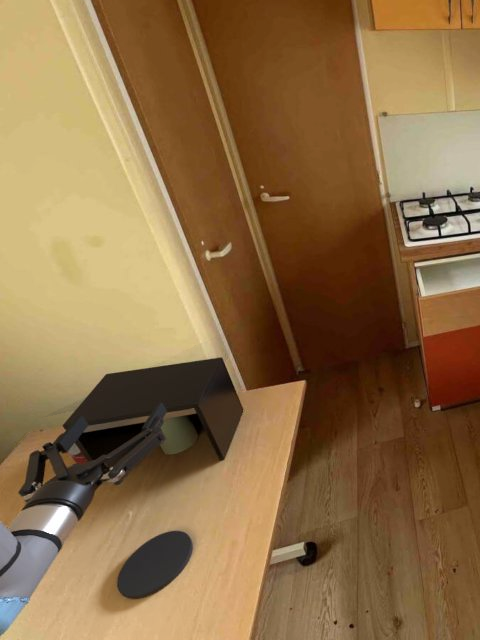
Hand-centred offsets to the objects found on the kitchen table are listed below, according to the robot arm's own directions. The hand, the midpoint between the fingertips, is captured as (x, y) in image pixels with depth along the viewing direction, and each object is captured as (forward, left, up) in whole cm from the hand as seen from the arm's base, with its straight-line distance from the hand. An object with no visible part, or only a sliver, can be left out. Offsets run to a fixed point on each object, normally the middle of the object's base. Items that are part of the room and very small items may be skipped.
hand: (123, 413), depth 85 cm
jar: (-7, +6, -20) cm, 22 cm away
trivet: (+20, -7, -20) cm, 29 cm away
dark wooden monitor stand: (-7, +6, -20) cm, 22 cm away
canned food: (-20, -5, -20) cm, 29 cm away
